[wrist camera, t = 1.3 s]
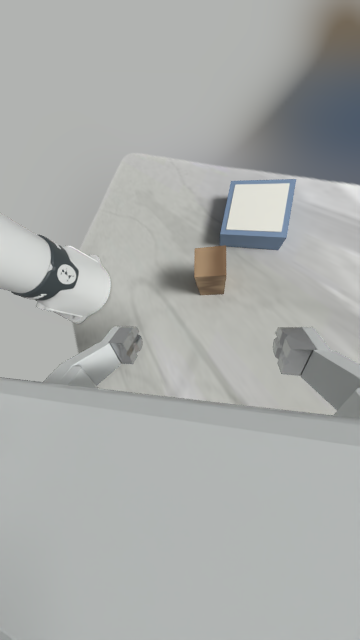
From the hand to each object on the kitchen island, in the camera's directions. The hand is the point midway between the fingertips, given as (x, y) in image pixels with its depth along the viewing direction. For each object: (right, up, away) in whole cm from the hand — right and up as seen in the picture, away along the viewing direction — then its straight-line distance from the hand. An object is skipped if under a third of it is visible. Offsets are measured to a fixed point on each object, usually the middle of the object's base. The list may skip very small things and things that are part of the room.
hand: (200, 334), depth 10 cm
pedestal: (+15, +22, +25) cm, 37 cm away
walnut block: (+6, +9, +26) cm, 28 cm away
